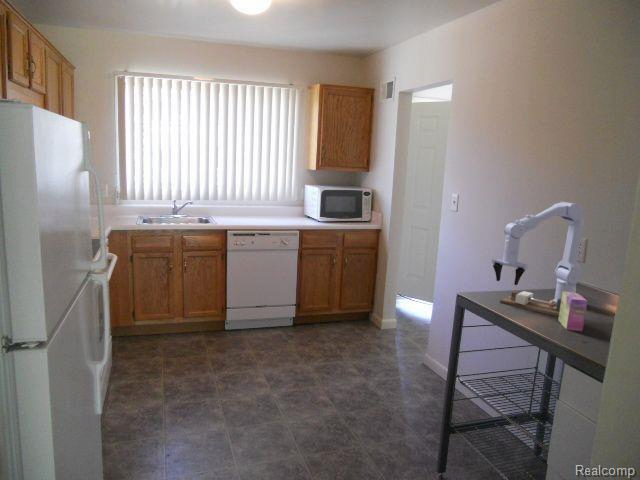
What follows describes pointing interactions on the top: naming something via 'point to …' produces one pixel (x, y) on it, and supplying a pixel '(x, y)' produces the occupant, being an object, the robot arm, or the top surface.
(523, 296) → the sleeve
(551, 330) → the top surface
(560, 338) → the top surface
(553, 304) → the guide rod
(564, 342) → the top surface
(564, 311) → the box
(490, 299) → the top surface
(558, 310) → the end block
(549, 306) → the stop band
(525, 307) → the guide board
